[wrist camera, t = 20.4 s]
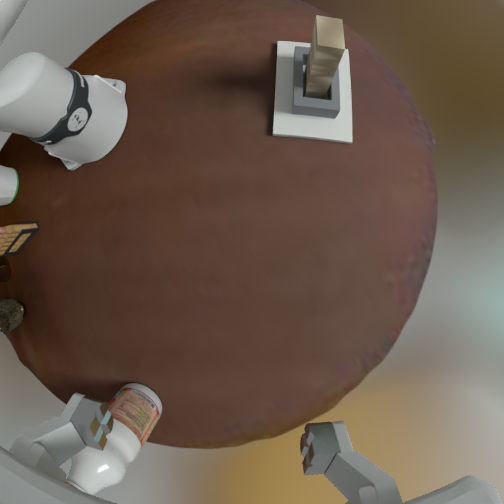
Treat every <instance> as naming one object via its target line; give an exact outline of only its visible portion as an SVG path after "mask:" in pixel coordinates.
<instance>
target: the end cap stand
mask: <svg viewBox="0 0 504 504" xmlns="http://www.w3.org/2000/svg"><path fill="white" fill-rule="evenodd" d="M309 49H310V44H309V43H299V42H287V41H278V47H277V68H276V87H275V106H274V123H273V136H283V137H295V138H306V139H315V140H324V141H332V142H340V143H347V144H351V143H352V102H351V81H350V66H349V54H348V49H345V51H344V53H343V56H342V58H341V60H340V63H339V65H338V67H337V70H336V72H335V75H334V77H333V79H332V82H331V84H330V86H329V89H328V91H327V94H326V96H325V98H324V99H316V98H307V97H304V88H305V69H306V64H307V59H308V54H309Z"/></svg>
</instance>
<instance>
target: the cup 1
mask: <svg viewBox="0 0 504 504" xmlns="http://www.w3.org/2000/svg"><path fill="white" fill-rule="evenodd" d="M18 184H19V180H18V174H17V171H16V170H15V169H14V168H8V167H5V166H1V165H0V205H6V204H10V203H11V202H12V201H13V200H14V198H15V197H16V194H17V190H18Z"/></svg>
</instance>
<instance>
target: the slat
mask: <svg viewBox="0 0 504 504" xmlns="http://www.w3.org/2000/svg"><path fill="white" fill-rule="evenodd" d="M344 51H345V43H344V33H343V24H342V20H341V19H336V18H330V17H324V16H317V15H316V20H315V25H314V30H313V35H312V40H311V44H310V49H309V54H308V59H307V64H306V69H305V88H304V97H307V98H316V99H324V98H325V96H326V94H327V91H328V89H329V86H330V84H331V82H332V79H333V77H334V75H335V72H336V70H337V67H338V65H339V63H340V60H341V58H342V56H343V53H344Z"/></svg>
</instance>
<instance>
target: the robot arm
mask: <svg viewBox="0 0 504 504" xmlns="http://www.w3.org/2000/svg"><path fill="white" fill-rule="evenodd" d="M27 1H28V0H0V45H1V43H2V42H3V40H4V39H5V37H6V35H7V34H8V33H9V31H10V30H11V28H12V27H13V25H14V24H15V22H16V20H17V19H18V17H19V15H20V13H21V12H22V10H23V8H24V7H25V5H26V3H27ZM114 86H115V87H114ZM125 90H126V84H125V83H124V82H123V81H120V80H114V79H107V78H101V77H99V76H97V75H94V76H90V75H80V74H79V73H78V72H76V71H74V70H72V69H70V68H63V67H62V66H60V65H59V64H57V63H55V62H54V61H52V60H51V59H49V58H47V57H46V56H44V55H43V54H41V53H38V52H29V53H25V54H22V55H20V56H18V57H16V58H14V59H13V60H11V61H10V62H9V63H7V64H6V65H5V66H4V67H3V68H2V69H1V70H0V131H4V132H11V133H16V134H21V135H25V136H27V137H28V138H29V139H30V140H33V141H35V142H36V143H39V144H41V145H43V146H45V147H44V149H45V150H46V151H48V153H49V154H50V155H52V156H55V157H58V158H60V159H61V160H62V162H63V163H64V165H65V166H66V167H67V169H69V170H75V169H77V168H78V167H80V166H81V165H82V164H85V163H90V162H94V161H96V160H99V159H101V158H102V157H104V156H105V155H106V154H107V153H109V152H110V151H111V150H112V149H113V147H114V146H115V145H116V144H117V142H118V141H119V139H120V137H121V135H122V133H123V131H124V128H125V125H126V121H127V105H126V102H125V97H124V96H125ZM108 408H109V406H108V404H107V402H104V401H101V400H98V399H94V398H91V397H88V396H85V395H82V394H79V393H75V394H73V396H72V397H71V399H70V400H69V402H68V403H67V405H66V407H65V408H64V410H63V411H62V413H61V415H60V416H59V417H58V416H55V417H53V418H51V419H49V420H48V421H45V422H43V423H41V424H39V425H37V426H34V427H32V428H30V429H28V430H26V431H24V432H21V433H20V434H19V436H18V437H17V439H16V441H15V442H14V443H13V445H12V447H11V448H10V450H9V452H8V451H7V450H5V449H4V448H2V447H1V446H0V504H116V503H113V502H110V501H107V500H104V499H101V498H99V497H96V496H93V495H91V494H88V493H86V492H83V491H81V490H79V489H76V488H74V487H72V486H69V485H67V484H65V483H64V481H65V478H66V473H65V472H64V471H63V470H62V469H61V468H60V465H61V464H63V463H64V462H66V461H67V460H68V459H70V458H71V457H73V456H74V455H76V454H77V453H78V452H80V451H81V450H83V449H84V448H85V447H86V446H88V447H92V448H95V449H98V450H101V451H103V449H104V447H105V445H106V443H107V437H106V435H108V434H109V433H111V431H112V428H113V422H114V421H113V416H112V414H111V413H110V412H109V411H108ZM300 450H301V455H303V456H304V457H305V458H304V460H303V462H302V464H303V470H304V475H314V474H324V475H325V476H326V477H327V478H328V479H329V480H330V481H331V483H332V484H334V486H335V487H336V488H337V489H338V490H339V491H340V492H341V493H342V494H343V495H344V496H345V497H346V498H347V499H348V500H349V501H348V502H347V503H346V504H503V503H502V501H501V498H500V496H499V494H498V491H497V490H496V488H495V487H494V486H493V485H492V484H490V483H489V482H487V481H485V480H483V479H481V478H478V477H476V476H473V475H468V476H465V477H463V478H461V479H459V480H457V481H455V482H453V483H451V484H448V485H446V486H444V487H442V488H440V489H437V490H435V491H433V492H430V493H428V494H425V495H423V496H420V497H417V498H415V499H412V500H409V501H406V502H403V503H402V500H401V497H400V494H399V491H398V488H397V485H396V482H395V479H394V478H392V477H390V476H389V475H388V474H387V473H385V472H384V471H383V470H381V469H380V468H378V467H377V466H376V465H375V464H373V463H372V462H371V461H369V460H368V459H367V458H366V457H364V456H363V455H361V454H360V453H359V452H358V451H353V448H352V445H351V441H350V438H349V435H348V432H347V429H346V425H345V423H344V421H336V422H322V423H307V424H306V426H305V433H304V434H302V437H301V443H300Z"/></svg>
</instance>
